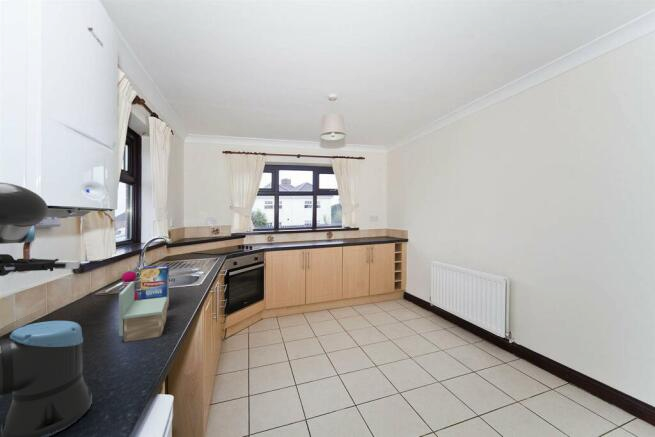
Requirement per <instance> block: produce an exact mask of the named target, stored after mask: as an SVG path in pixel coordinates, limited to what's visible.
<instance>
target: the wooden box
mask: <svg viewBox="0 0 655 437" xmlns="http://www.w3.org/2000/svg"><path fill="white" fill-rule="evenodd" d="M166 321H167V311H166V303H165V306H164V309H163V311H162V314H158V315H150V316H143V317H135V318H128V319H124V335H123V340H124V342H123V343H130V342H135V341H141V340H146V339H153V338H159V337H162V335H163V332H164V329H165V325H166Z"/></svg>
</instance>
